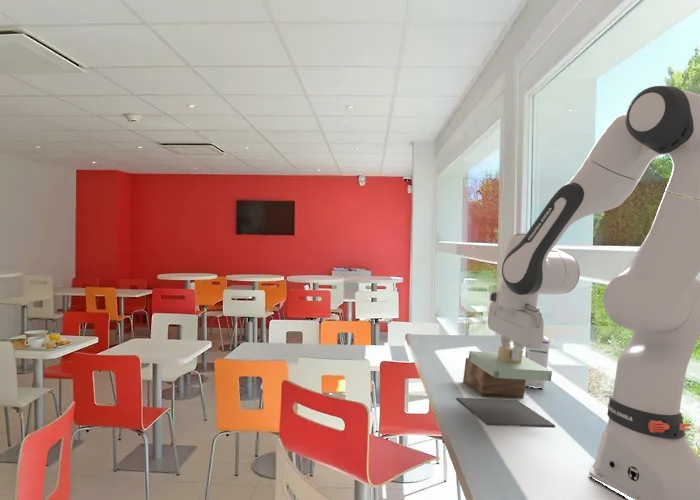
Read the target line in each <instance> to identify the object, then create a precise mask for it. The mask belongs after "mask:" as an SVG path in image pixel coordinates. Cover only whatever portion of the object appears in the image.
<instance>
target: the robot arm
mask: <svg viewBox="0 0 700 500" xmlns="http://www.w3.org/2000/svg"><path fill="white" fill-rule="evenodd" d="M662 155H668V156H669V158H670V159H671V162H672V170H671V174H670V177H669V180H668V182H667V185H666V188H665V191H664V193H663V196H662V199H661V201H660V204H659V206H658V209H657V212H656V215H655V216H654V219H653V222H652V224H651V227H650V229H649V231H648V234H647V235H646V237H645V238H644V241H643V242H642V244H641V245H640V247H639V248H638V250H637V251H636V253H635V254H634V256H633V257H632V258H631V260H630V261H629V263H628V265H627V266H626V267H625V268H624V269H623V271H621V272H620V274H618V275H617V276H615V277H614V278H612V279H611V281H610V282H609V283H608V284H607V285H606V287H605V290H604V292H603V297H602V298H603V299H602V301H603V307H604V310H605V312H606V314H607V316H608V318H610V320H611V321H612V322H613V323H615V324H616V325H618V326H620V327H623V328H624V329H627V330H630V331H633V334H632V336H631V338H630V340H629V341H628V344H627V345H626V347H625V348H624V350H623V351H621V353H620V355H619V357H618V359H617V363H616V372H615V378H614V386H613V391H612V392H613V393H612V396H610V398H609V401H608V405H607V417H608V422H607V424H606V426H605V428H604V429H603V430H604V431H603V432H602V434H601V438H600V442H599V446H598V449H597V454H596V457H595V460H594V462H593V465H592V468H591V469H590V470H589V473H588V476H589V475H590V476H591V477H593V478H595V479H597V480H599V481H601V482H603V483H605V484H607V485H609V486H611V487H613V488H615V489H617V490H619V491H620V492H622V493H624V494H626V495H627V496H629V497H631V498H633V499H635V500H700V459H699V457H698V455H696V453H695V451H694V449H693V448H692V447H691V446H690V444H689V443H688V441H687V440H686V438H685V436H686V432H685V431H691V430H692V429H690V428H689V427H692V424H691V423H684V419H683V415H682V413H681V411H680V410H681V402H682V398H683V390H684V385H685V378H686V373H687V369H688V366H689V363H690V360H691V358H692V355H693V353H694V350H695V348H696V345H697V343H698V340H699V338H700V280H699V279H698V278H696V277H697V276H698V274H699V273H700V94H697V93H695V92H693V91H692V92H691V91H689V90H688V91H687V90H683V89H680V88H678V87H676V86H672V85H653V86H650V87H647V88H645V89H643V90H642V91H640V92H638V94H637V95H635V97H634V98H633V99H632V100H631V102H630V103H629V104H628V107H627V109H626V113H623V114H620V115H618V116H616V117H615V118H614V119H613V120H612V121H611V122H610V123H609V125H608V126H607V127H606V128H605V129H604V131H603V132H602V133H601V135H600V136H599V137H598V139H597V140H596V142H595V143H594V145H593V147H592V148H591V150H590V152H589V153H588V155H587V157H586V158H585V160H584V162H583V164H582V165H581V166H580V168H579V169H578V170H577V172H576V173H575V174H574V175H573V176H572V177H571V179H570V180H569V181H568V182H567V183H566V184H564V185H563V186H562V187H560V188H559V189H558V190H557V191H556V192H555V193H554V194H553V196H552V197H551V199H550V200H549V201H548V203H547V204H546V206H544V208H543V209H542V210H541V213H540V214H539V216H538V217H537V218H536V219H535V221H534V222H533V224H532V225H531V227H530V228H529V230H528V231H527V232H526V233H524V232H522V233H517V234H514V235H512V236H511V237H510V238H509V241H508V243H507V247H506V250H505V253H504V259H503V261H502V267H501V276H502V281H501V284H500V289H497V290H495V291H492V292H490V293H489V302H490V303H489V307H488V314H487V327H488V329H489V330H491V331H493V332H495V333H496V334H499V335H500V344H501V347H511V341H512V345H513V347H512V348H513V350H512V351H510V356H509V357H510V358H511V359H512V360H519V356H520V353H521V351H522V350H523V349H524V348H526V347H527V348H536V349H539V348H540V347H541V345H542V342H543V336H544V328H545V327H544V326H545V325H544V319H543V315H542V313H541V310H540V307H537V306H538V299H539V295H563V294H568V293H570V292H572V291H573V290H574V289H575V287H576V286H577V284H578V282H579V279H580V276H581V275H580V274H581V273H580V266H579V264H578V262H577V260H576V259H575V257H574V256H572V254H571V255H570V254H567V253H566V252H564V251H561V250H560V249H557V248H556V247H555V246H556V244H558V242H559V241H560V239H561V238H562V237H563V235H564V234H565V232H566V231H567V229H569V228H570V226H571V225H573V224H574V223H575V222H577V221H578V220H580V219H583V218H586V217H588V216H591V215H594V214H597V213H598V214H599V213H602V212H606V211H610V210H614V209H616V208H618V207H620V206H621V205H622V204H623V203H624V202H625V201H626V200H627V199H628V198H629V197H630V195H632V193H633V191H634V190H635V188H636V187H637V186H638V185H639V184H638V183H639V182H640V180H641V179H642V177H643V175H644V174H645V171H646V170H647V168H648V166H649V165H650V164H651V162H652V161H653V160H654V159H655V158H657V157H660V156H662Z"/></svg>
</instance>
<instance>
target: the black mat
mask: <svg viewBox="0 0 700 500" xmlns="http://www.w3.org/2000/svg"><path fill="white" fill-rule="evenodd" d="M456 400H457V401H458V402H459V403H461V404H462V405H463V406H464V407H465V408H467V409H468V410H469V411H470V412H471V413H472V414H474V415H475V416H476V417H478V419H479V420H480V421H482V422H483V423H485V425H487V426H506V425H520V426H519V427H546V428H548V427H549V428H555V427H556V425H555V424H554V423H552V422H551V421H550V420H548V419H546V418H545V417H543V416H542V415H540V414H539V413H538V412H536V411H535V410H533V409H531V408H530V407H528V406H527V405H525V404H524V403H523V402H521V401H520V400H518V399H504V398H503V399H502V398H501V399H500V398H479V397H475V398H474V397H456Z"/></svg>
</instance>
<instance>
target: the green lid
mask: <svg viewBox="0 0 700 500" xmlns="http://www.w3.org/2000/svg"><path fill="white" fill-rule="evenodd" d="M513 348H514V347H512V346H510V347H502V346H498V352H489V351H476V350H475V351H474V350H469V351H468V352H469V353H468V358H469V359H468V360H469V361H471V362H472V363H474V364H475V365H477V366H478V367H479V368H481V369H482V370H484V371H485V372H487V373H488V374H490V375H491V376H493V377H494V378H507V379H525V380H543V381H545V382H551V381H552V377H553V371H552V370H551V369H549V368H548V367H547V368H545V367H543V366H541V365H540V364H538V363H536V362H534V361H532V360H530V359H528V358H526V357H525V355H523V352H524V350H523V349H522V351H521V353H520V356H519V360H512V359H511V358H510V357H509V356H510V351H512V350H513Z"/></svg>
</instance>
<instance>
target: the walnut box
mask: <svg viewBox="0 0 700 500" xmlns="http://www.w3.org/2000/svg"><path fill="white" fill-rule="evenodd" d="M468 359H469V357H466V358H465V363H464V371H463V372H464V373H463V380H462V383H464V384H465V385H466V386H468V387H469V388H470V389H472V390H473V391H474V392H475V393H477V394H478V395H480V396H481V397H488V398H489V397H490V398H491V397H492V398H508V399H509V398H510V399H511V398H512V399H523V398H524V396H525V387H526V386H525V381H526V380H525V379H507V378H494V377H493V376H491V375H490V374H488V373H487V372H485V371H484V370H482V369H481V368H479V367H478V366H477V365H475V364H474V363H472V362H471V361H469V360H468Z"/></svg>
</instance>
